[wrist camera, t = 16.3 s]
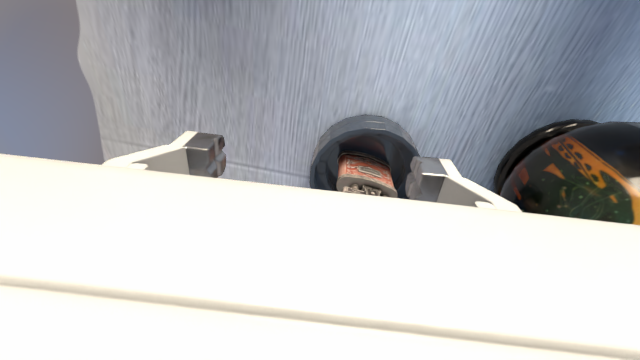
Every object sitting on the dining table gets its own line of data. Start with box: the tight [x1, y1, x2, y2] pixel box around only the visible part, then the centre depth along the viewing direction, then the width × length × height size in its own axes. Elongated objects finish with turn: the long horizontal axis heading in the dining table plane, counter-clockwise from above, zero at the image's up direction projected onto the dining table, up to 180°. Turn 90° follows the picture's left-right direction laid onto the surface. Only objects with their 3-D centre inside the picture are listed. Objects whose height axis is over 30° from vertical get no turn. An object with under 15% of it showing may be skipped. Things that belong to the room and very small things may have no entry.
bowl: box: [310, 115, 420, 199], centre depth 43 cm, size 15×15×6 cm
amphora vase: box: [494, 119, 640, 225], centre depth 32 cm, size 22×22×28 cm
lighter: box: [336, 150, 397, 198], centre depth 41 cm, size 8×3×10 cm, turn 74°
